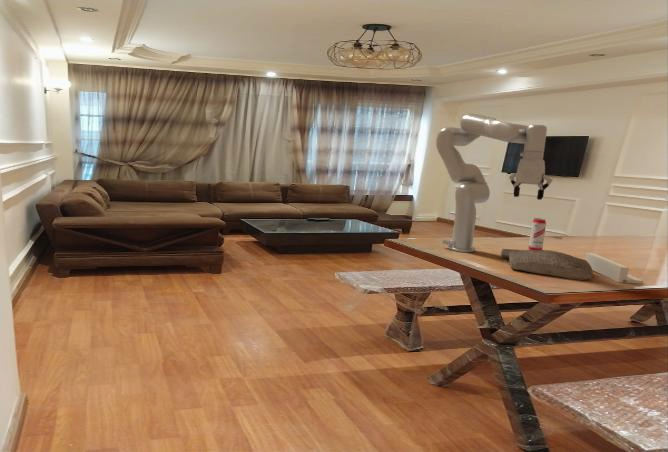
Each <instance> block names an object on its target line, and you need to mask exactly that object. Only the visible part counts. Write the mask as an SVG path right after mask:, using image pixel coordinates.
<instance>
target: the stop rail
mask: <svg viewBox="0 0 668 452" xmlns="http://www.w3.org/2000/svg"><path fill="white" fill-rule="evenodd" d="M584 260H586V261H587V262H588V263H589V264H590V266H591V268H592V271H594V272H596V273H598V274H600V275H602V276H604V277H606V278H608V279H611V280H613V281H615V282H617V283H622V284H623V283H624V284H625V283H627V284H639V285H640V284H642V285H643V284H644V280H642V279H640V278H638V277H635V276H633V275H631V274H629V269H630V268H629V266H626V265H623V264H621V263H618V262H616V261H613V260H611V259H608V258H606V257H603V256H601V255H599V254H596V253H594V252H586V253H585V257H584Z"/></svg>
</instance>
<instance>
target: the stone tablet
mask: <svg viewBox="0 0 668 452" xmlns="http://www.w3.org/2000/svg"><path fill="white" fill-rule="evenodd" d="M521 250H522V251H511V252H509V259H508V260H509V267H510V268H511V269H513V270H517V271H521V272H522V271H523V272H528V273H534V274H540V275H547V276H553V277H559V278H563V279H569V280H570V279H571V280H578V281H587V280H590V279H593V276H594V272H593V271H594V270H592V268H591V266H590V264H589V263H588V262H587V261H586V260H585V259H583V258H580V257H576V256H573V255H570V254H567V253H564V252H560V251H555V250H549V249H546V250H545V249H542V250H529V249H526V250H525V249H521Z"/></svg>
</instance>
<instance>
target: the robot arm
mask: <svg viewBox="0 0 668 452" xmlns="http://www.w3.org/2000/svg"><path fill="white" fill-rule="evenodd" d="M459 123H460V127H453V126H452V127H451V126H447V127H444V128H441V129H440V130H439V132H438V134H437V136H436V140H435V143H436V151H437V152H438V154H439V156H440V158H441V159H442V161H443V163H444V165H445V168H446V170H447V173H448V175H449V177H450V180H451V181H452V182H453V183H454V184H459V185H458V186H457V188H455V192H454V193H455V195H454V196H455V211H454V212H455V213H454V222H453V228H452V237H451V238H450V239H448V240H447V239H441V244H442V245H447V248H448V249H449V250H451V251H456V252H461V253H474V252H476V247H473V245H474V236H475V230H476V229H475V227H476V218H477V208H476V205H475V204H482V203H483V204H484V203H486V202H487V201H488V200H489V198H490V195H491V194H490V193H491V192H490V188H489V185H488V183H487V182H486V181H487V180H486V179H485V177H484V175H483V173H482V171H481V169H480V168H479V167H478V166H477V165H475V164H473V163H466V162H465V161H464V159H463V157H462V155H461V153H460V152H459V150H457V148H456V147H465V146H467V145H470V144H472V142H474V141H476V140H477V139H479V138H480V137H481V136H482V137H486V138H490V139H493V140H498V141H501V142H506V143H515V144H524V146H523V147H524V148H523V151H522V152H520V153H519V154H520V155H519V156H520V157H522V158H520V160H519V162H518V166H517V171H516V173H513V174H512V175H509V177H508V178H509V180H510V183H511V185H512V186H513V187H514V188H513V197H514V198H519V197H520V189H521V188H520V187H521V185H522V184H526V185H537V187H538V190H537V195H536V198H537V200H542V199H543V198H544V194H545V190H546V189H547V188H548V187H550V185H551V184H552V182H553V178H551V177H549V176H548V175H546V164H545V163H546V162H545V160H544V154H545V147H546V141H547V140H546V138H547V131H548V127H547V126H546V125H543V124H529V125H524V124H519V123H511V122H505V121H500V120H497V119H496V118H495V117H490V116H485V115H482V114H476V113H467V114H465V115H463V116H462V117H461V119H460V122H459ZM545 180H546V182H545ZM544 182H545V184H544Z"/></svg>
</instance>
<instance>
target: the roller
mask: <svg viewBox="0 0 668 452" xmlns="http://www.w3.org/2000/svg"><path fill="white" fill-rule="evenodd" d="M522 250H523V249H510V248H502V250H501V254H500V255H501V258H502V259H503V260H505V259H506V260H509V252H511V251H522Z"/></svg>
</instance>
